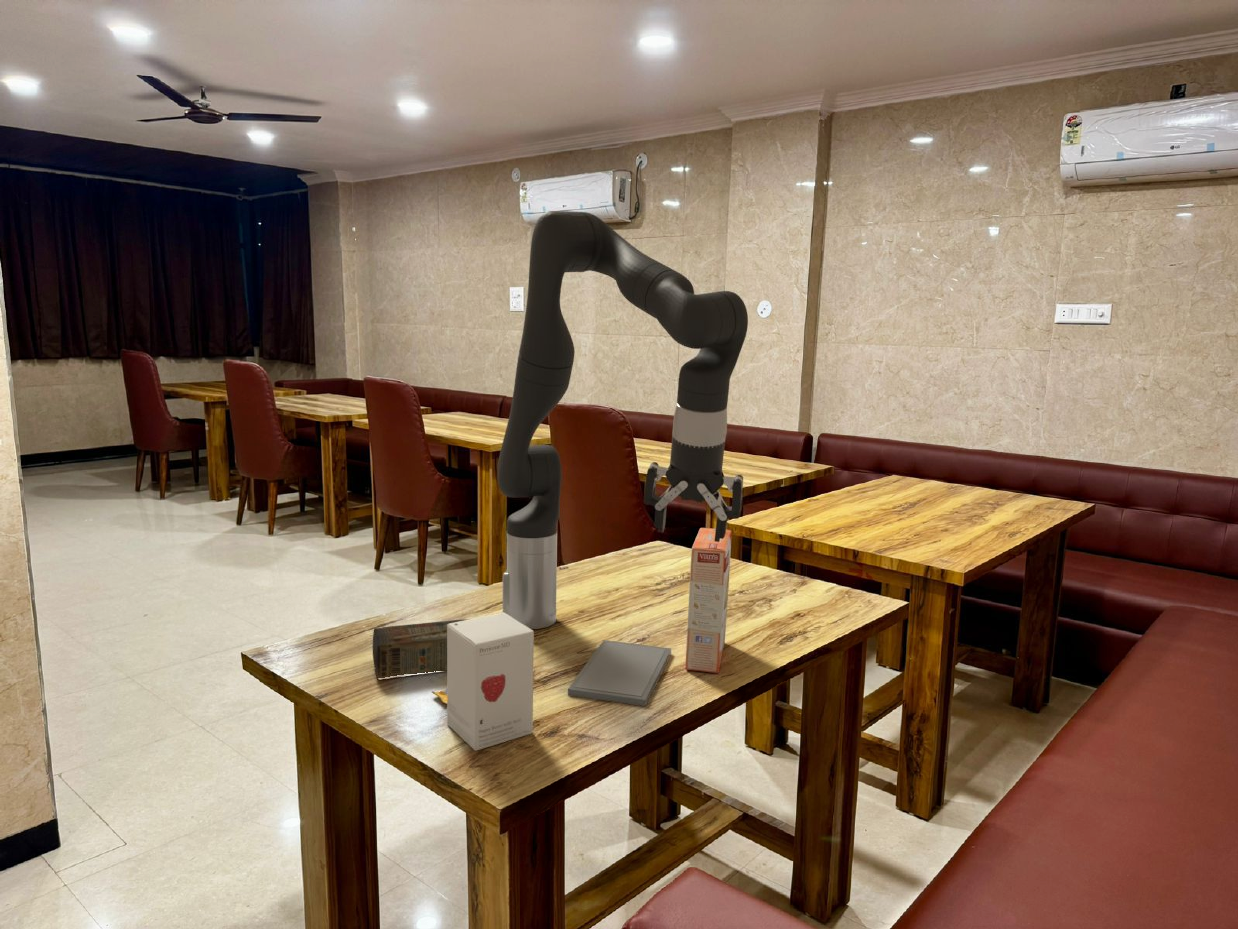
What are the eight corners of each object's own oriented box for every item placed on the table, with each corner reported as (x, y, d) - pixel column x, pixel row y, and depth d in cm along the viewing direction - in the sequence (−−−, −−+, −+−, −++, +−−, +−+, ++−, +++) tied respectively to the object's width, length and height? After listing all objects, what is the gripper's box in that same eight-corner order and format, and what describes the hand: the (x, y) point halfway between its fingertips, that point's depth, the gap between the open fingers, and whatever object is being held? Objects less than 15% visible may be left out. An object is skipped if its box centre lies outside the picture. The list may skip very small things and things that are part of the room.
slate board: (645, 706, 120) (645, 699, 120) (567, 695, 123) (567, 688, 123) (671, 654, 139) (671, 648, 139) (603, 645, 142) (603, 639, 142)
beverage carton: (498, 667, 133) (498, 628, 132) (376, 684, 126) (375, 644, 124) (487, 648, 140) (487, 612, 139) (371, 664, 133) (370, 625, 132)
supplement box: (474, 753, 106) (473, 644, 103) (445, 725, 113) (444, 622, 110) (535, 734, 111) (535, 630, 109) (504, 708, 118) (503, 610, 116)
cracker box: (721, 675, 131) (727, 550, 127) (684, 671, 132) (689, 547, 129) (727, 642, 145) (733, 528, 141) (693, 639, 146) (698, 525, 142)
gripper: (644, 436, 113) (637, 538, 120) (746, 451, 110) (733, 554, 117) (655, 418, 120) (648, 516, 126) (752, 431, 117) (739, 530, 123)
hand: (689, 534), depth 122 cm, fingers open, 8 cm apart
